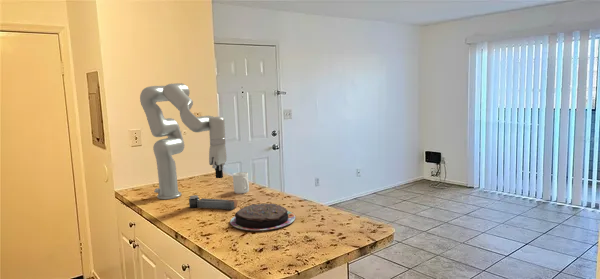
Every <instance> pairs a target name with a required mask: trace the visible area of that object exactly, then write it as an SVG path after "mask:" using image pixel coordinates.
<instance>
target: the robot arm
mask: <svg viewBox="0 0 600 279" xmlns="http://www.w3.org/2000/svg"><path fill="white" fill-rule="evenodd" d="M190 91H191V90H190V88H189V87H188V85H187V84H184V83H182V82H181V83H178V82H177V83H168V84H166V85H151V86H147V87H145V88H143V89H142V90H141V91H140V95H139V99H140V100H139V102H140V105H141V108H142V109H143V111H144V112H143V113H144V114H145V116H146V119H147V120H146V121H147V123H148V126H149V129H150V132H151V135H152V136H153V137H155V138H161V139H159V140H157V141H155V143H153V150H152V151H153V153H154V156H155V161H156V162H155V163H156V166H157V168H156V169H157V178H158V188H157V187H156V188H155V189H154V194H157V196H156V198H157V199H159V200H171V199H175V198H179V197H181V196H182V192H181V191H179V186H178V185H179V184H178V175H177V166H176V161H175V160H174V159H175V158H173V156H174V155H178V154H181V153H183V152H184V149H185V140H184V137H183V135H182V131H181V129H180V128H181V127H180V124H179V123H178V122H177V120H175V119H174V118H172V117H171V118H170V117H168V118H167V117H166V118H165V116H164V113H163V110H162V108H161V107H160V106H159V105H158V104H157V103H159V102H160V103H162V102H170V103H171V104H172V105H173V106H174V108H176V109H177V110H178V111H179V117H180V119H181V121H182V124H184V125H185V126H186V127H187V128H188V129H189V130H190V131H192V132H194V133H202V132H207V131H209V132H208V133H209V151H208V152H209V153H208V163H209V165H210V166H212V167H211V168H212V169H214V171H215V178H216V179H223V178H224V173H223V172H224V171H223V170H224V165H225V164H226V162H227V148H226V129H225V128H226V126H225V124H226V123H225V118H224V117H223V116H214V115H212V116H211V115H202V116H196V115H195V114H193V112H191V109H192V108H193V105H194V101H193V99H192V98H191V97H189V96H190ZM163 137H167V138H163Z"/></svg>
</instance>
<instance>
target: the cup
mask: <svg viewBox="0 0 600 279" xmlns="http://www.w3.org/2000/svg"><path fill="white" fill-rule="evenodd" d="M232 180H233V181H232V183H233V192H234V193H235V194H247V193H249V191H250V186H249V185H250V184H249V172H246V171H238V172H234V173H232Z"/></svg>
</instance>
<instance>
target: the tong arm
mask: <svg viewBox="0 0 600 279" xmlns="http://www.w3.org/2000/svg"><path fill="white" fill-rule="evenodd" d="M198 198H199V195H195V194H193V195H190V196H189V199H192V200H193V199H198ZM199 200H207V201H233V202H234V209H236V208H237V207H238V200H237V199H222V198H219V199H218V198H201V199H200V198H199Z"/></svg>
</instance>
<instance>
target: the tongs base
mask: <svg viewBox="0 0 600 279" xmlns="http://www.w3.org/2000/svg"><path fill="white" fill-rule="evenodd" d="M188 203H189V205H188V207H189V208H190V209H198V208H199V209H218V210H222V209H223V210H228V211H229V210H230V211H232V210H234V209H235V208H234V202H233V201H207V200H200V197H198V199H193V200H192V199H190V198H189V199H188Z"/></svg>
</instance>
